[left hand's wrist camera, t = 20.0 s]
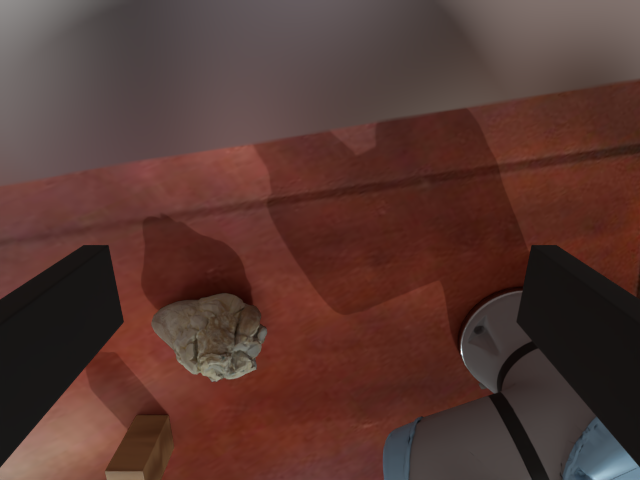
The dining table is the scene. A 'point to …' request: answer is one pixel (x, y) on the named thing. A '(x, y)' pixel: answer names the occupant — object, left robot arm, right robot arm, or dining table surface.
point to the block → (143, 450)
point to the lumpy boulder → (212, 335)
